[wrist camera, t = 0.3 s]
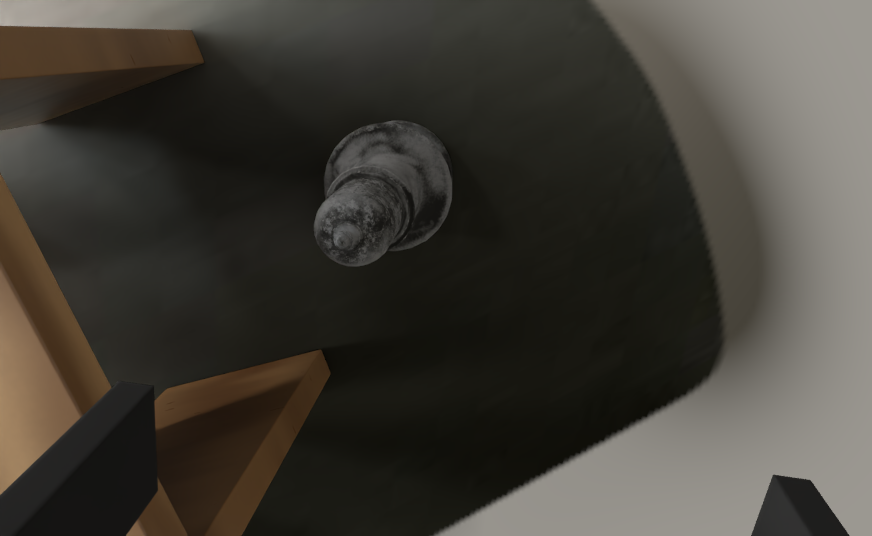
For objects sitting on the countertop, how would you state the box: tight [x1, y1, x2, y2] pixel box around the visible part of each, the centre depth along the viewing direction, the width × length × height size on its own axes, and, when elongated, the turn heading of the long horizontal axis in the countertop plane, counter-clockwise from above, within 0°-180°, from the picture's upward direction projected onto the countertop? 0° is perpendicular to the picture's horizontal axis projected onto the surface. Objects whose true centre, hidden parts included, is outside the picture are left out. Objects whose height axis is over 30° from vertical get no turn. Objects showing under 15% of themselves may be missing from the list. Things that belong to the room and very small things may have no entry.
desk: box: [0, 26, 331, 536], centre depth 28 cm, size 10×21×17 cm, turn 18°
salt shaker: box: [314, 121, 453, 267], centre depth 28 cm, size 6×6×12 cm
